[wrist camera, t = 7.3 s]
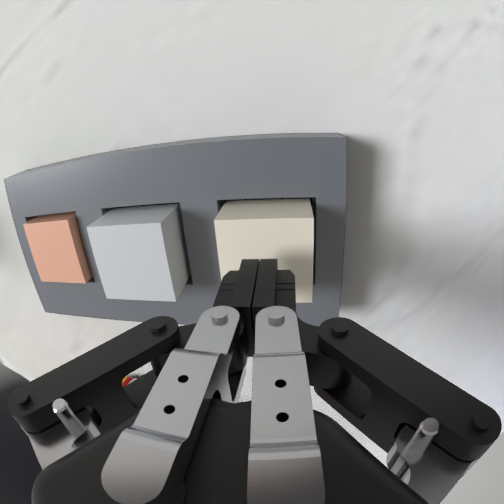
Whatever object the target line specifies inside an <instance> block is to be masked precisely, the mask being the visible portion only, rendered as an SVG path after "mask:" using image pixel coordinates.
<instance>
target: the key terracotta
mask: <svg viewBox="0 0 504 504" xmlns="http://www.w3.org/2000/svg"><path fill="white" fill-rule="evenodd" d="M23 226H24V229H25V233H26V236H27V240H28V243H29V246H30V249H31V253H32V256H33V259H34V262H35V265H36V268H37V270H38V273H39V276H40V279H41V281H45V282H65V283H87V282H88V281H89V280H90V279H91V278H92V277H93V274H92V271H91V267H90V264H89V261H88V257H87V254H86V250H85V247H84V243H83V239H82V235H81V231H80V228H79V223H78V219H77V215H76V211H73V212H64V213H55V214H47V215H39V216H36V217H35V218H33V219H31V220H30V221H28V222H26V223H25V224H23Z"/></svg>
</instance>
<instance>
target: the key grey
mask: <svg viewBox="0 0 504 504" xmlns="http://www.w3.org/2000/svg"><path fill="white" fill-rule="evenodd" d="M86 228H87V232H88V236H89V240H90V244H91V247H92V251H93V255H94V258H95V262H96V265H97V269H98V272H99V275H100V279H101V282H102V285H103V288H104V291H105V294H106V297H107V299H125V300H146V301H172V302H176V301H177V299H178V297H179V295H180V293H181V291H182V290H183V288H184V286H185V284H186V282H187V280H188V278H189V276H190V275H191V271H190V265H189V259H188V253H187V247H186V241H185V235H184V229H183V222H182V215H181V209H180V204H165V205H151V206H138V207H126V208H114V209H111V210H110V211H108V212H107V213H106V214H104V215H103V216H101V217H100V218H98V219H97V220H96V221H94V222H93V223H91V224H90V225H89V226H87V227H86Z"/></svg>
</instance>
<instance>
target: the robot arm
mask: <svg viewBox="0 0 504 504" xmlns="http://www.w3.org/2000/svg"><path fill="white" fill-rule="evenodd" d="M247 357H253V372H252V401H247V402H240V403H238V400H239V397H240V393H241V389H242V386H243V382H244V378H245V374H246V366H245V365H246V363H247ZM148 362H151V365H152V368H153V370H151V371H150V372H148V373H146V374H145V375H143V376H141V377H140V378H138V379H136V380H135V381H133V382H131V383H129V384H128V385H126V386H124V387H122V381H123V379H124V377H125V376H126V375H128V374H129V373H131V372H133V371H135V370H136V369H138V368H140V367H142V366H143V365H145V364H147V363H148ZM310 385H311V386H314V390H315V392H316V393H317V394H318V395H319V396H320V397H321V398H322V399H323V400H324V401H326V402H327V403H328V404H329V405H330V406H331V407H332V408H334V409H335V410H336V411H337V412H338V413H340V414H341V415H342V416H343V417H344V418H345V419H347V420H348V421H349V422H350V423H351V424H353V425H354V426H355V427H356V428H357V429H359V430H360V431H361V432H362V433H363V434H365V435H366V436H367V437H368V438H369V439H371V440H372V441H373V442H374V443H376V444H377V445H378V446H379V447H381V448H382V449H383V450H384V451H386V452H387V453H388V455H387V466H388V468H389V469H388V468H387V467H386V466H385V465H384V464H382V463H381V462H380V461H379V460H378V459H377V458H376V457H374V456H373V455H372V454H371V453H370V452H369V451H368V450H367V449H366V448H364V447H363V446H362V445H361V444H360V443H359V442H358V441H357V440H356V439H355V438H353V437H352V436H351V435H350V434H349V433H348V432H347V431H346V430H345V429H344V428H343V427H342V426H340V425H339V424H338V423H337V422H336V421H334V420H333V419H332V418H330V417H329V416H327V415H325V414H323V413H321V412H318V411H316V410H313V407H312V399H311V392H310ZM7 407H8V410H9V412H10V413H11V415H12V416H13V417H14V418H15V419H16V421H17V422H18V423H19V424H20V426H21V428H22V429H23V430H24V432H25V433H26V434H27V435H28V436H29V438H30V441H31V443H32V446H33V448H34V451H35V453H36V456H37V458H38V461H39V463H40V465H41V467H42V472H41V473H40V474H39V475H38V477H37V478H36V480H35V483H34V485H33V489H32V504H440V502H441V501H442V500H443V499H444V498H445V497H446V495H447V494H448V493H449V492H450V491H451V489H452V488H453V487H454V486H455V484H456V483H457V482H458V480H459V479H460V478H461V477H462V476H463V475H464V474H465V473H466V472H467V471H468V470H469V469H470V468H471V467H472V466H473V465H474V464H475V463H476V462H477V460H479V459H480V457H481V456H482V455H483V454H484V453H485V452H486V451H487V450H488V448H489V447H490V446H491V445H492V444H493V443H494V441H495V440H496V439H497V438H498V436H499V435H500V432H501V420H500V417H499V415H498V414H497V413H496V411H495V410H494V409H492V408H491V407H489V406H488V405H486V404H484V403H483V402H481V401H480V400H478V399H476V398H475V397H473V396H472V395H470V394H468V393H467V392H465V391H464V390H462V389H460V388H459V387H457V386H456V385H454V384H452V383H451V382H449V381H448V380H446V379H444V378H443V377H441V376H440V375H438V374H437V373H435V372H433V371H432V370H430V369H429V368H427V367H425V366H424V365H422V364H421V363H419V362H417V361H416V360H414V359H413V358H411V357H409V356H408V355H406V354H405V353H403V352H402V351H400V350H398V349H397V348H395V347H394V346H392V345H390V344H389V343H387V342H386V341H384V340H383V339H381V338H379V337H378V336H376V335H375V334H373V333H371V332H370V331H368V330H367V329H365V328H364V327H362V326H360V325H359V324H357V323H356V322H354V321H352V320H350V319H347V318H341V317H336V318H330V319H327V320H325V321H324V322H322V323H321V324H320V326H314V325H310V324H307V323H305V322H303V321H302V320H301V319H300V318H299V317H298V316H297V314H296V290H295V275H294V274H293V273H292V272H291V270H278V260H277V259H260V260H259V259H242V261H241V264H240V268H239V270H234V271H229V272H228V273H227V274H226V275H224V276H223V278H222V281H221V285H220V287H219V291H218V292H217V295H216V298H215V301H214V304H213V307H212V308H210V309H208V310H206V311H205V312H203V313H202V315H201V316H200V318H199V320H198V322H197V323H195V324H191V325H185V326H179V327H178V323H177V321H176V320H175V319H174V318H172V317H169V316H157V317H153V318H151V319H149V320H147V321H145V322H143V323H141V324H139V325H137V326H136V327H134V328H132V329H130V330H128V331H126V332H124V333H122V334H120V335H119V336H117V337H115V338H113V339H111V340H109V341H107V342H105V343H103V344H102V345H100V346H98V347H96V348H94V349H92V350H90V351H88V352H86V353H85V354H83V355H81V356H79V357H77V358H75V359H73V360H71V361H69V362H67V363H66V364H64V365H62V366H60V367H58V368H56V369H54V370H52V371H50V372H48V373H46V374H44V375H43V376H41V377H39V378H37V379H35V380H33V381H31V382H29V383H27V384H25V385H23V386H21V387H19V388H18V389H16V390H15V391H14V392H13V393H12V394H11V396H10V397H9V399H8V403H7Z"/></svg>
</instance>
